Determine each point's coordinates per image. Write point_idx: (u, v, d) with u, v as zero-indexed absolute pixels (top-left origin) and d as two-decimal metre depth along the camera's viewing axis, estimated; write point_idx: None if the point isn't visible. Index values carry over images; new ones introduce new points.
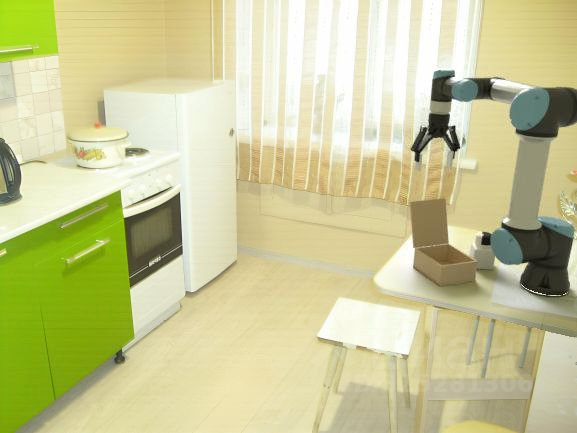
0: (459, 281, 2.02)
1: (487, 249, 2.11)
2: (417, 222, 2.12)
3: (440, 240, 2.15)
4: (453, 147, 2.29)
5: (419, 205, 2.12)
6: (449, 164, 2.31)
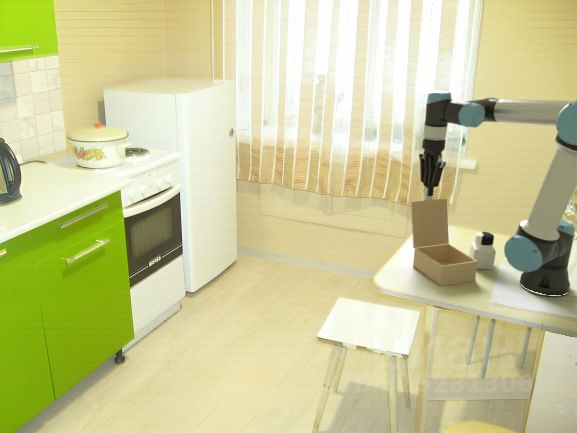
0: (459, 281, 2.02)
1: (487, 249, 2.11)
2: (418, 222, 2.11)
3: (440, 240, 2.15)
4: (428, 182, 2.10)
5: (420, 205, 2.11)
6: None
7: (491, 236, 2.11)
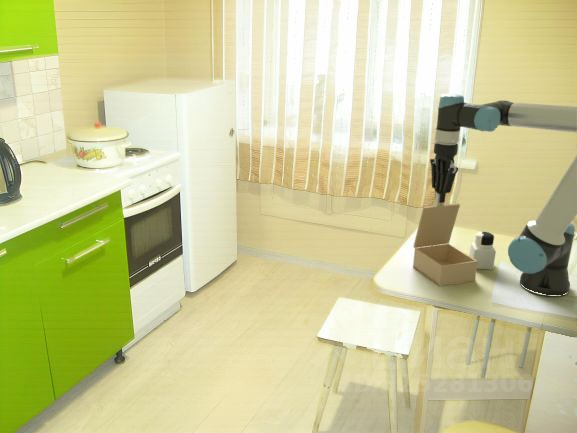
0: (459, 281, 2.02)
1: (487, 249, 2.11)
2: (424, 226, 2.07)
3: (441, 241, 2.14)
4: (440, 188, 2.04)
5: (432, 211, 2.05)
6: None
7: (491, 236, 2.11)
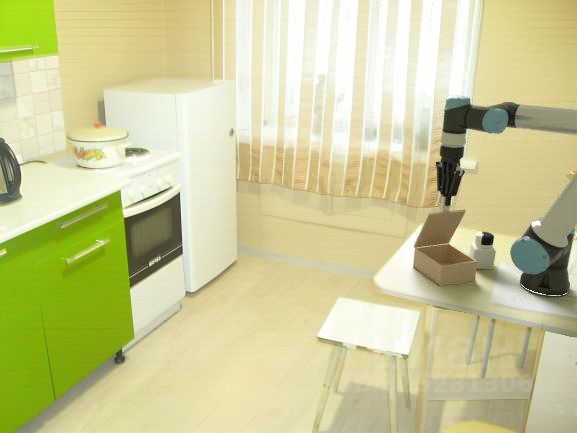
0: (459, 281, 2.02)
1: (487, 249, 2.11)
2: (427, 229, 2.06)
3: (441, 242, 2.14)
4: (446, 191, 2.01)
5: (437, 217, 2.03)
6: None
7: (491, 236, 2.11)
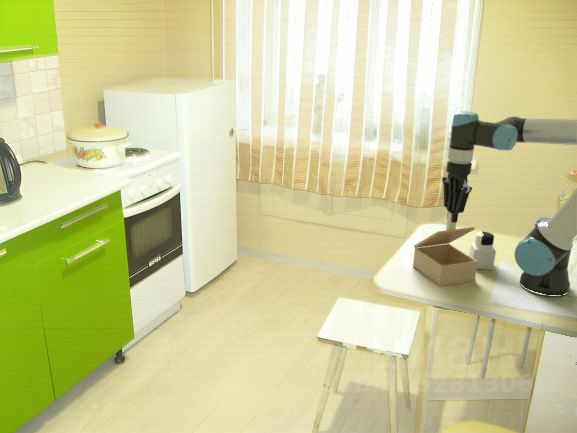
0: (459, 281, 2.02)
1: (487, 249, 2.11)
2: (432, 239, 2.04)
3: (442, 243, 2.14)
4: (452, 207, 1.98)
5: (444, 234, 1.99)
6: None
7: (491, 236, 2.11)
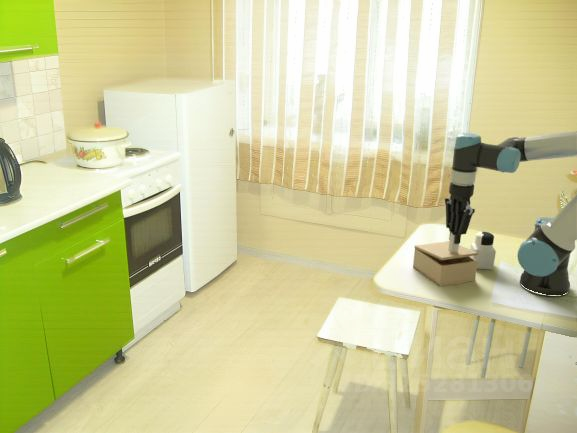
0: (459, 281, 2.02)
1: (487, 249, 2.11)
2: None
3: None
4: (455, 229, 1.98)
5: None
6: None
7: (491, 236, 2.11)
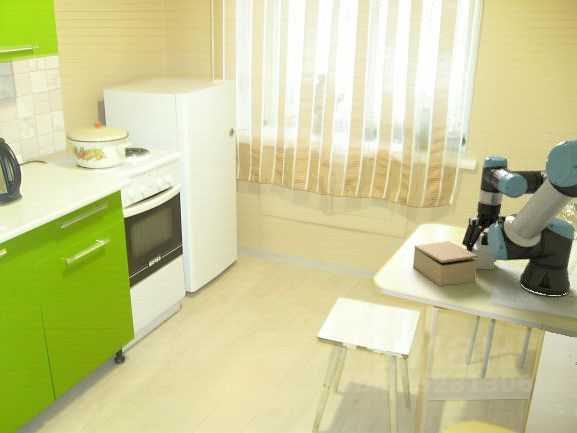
0: (459, 281, 2.02)
1: (487, 249, 2.11)
2: None
3: None
4: None
5: None
6: None
7: None
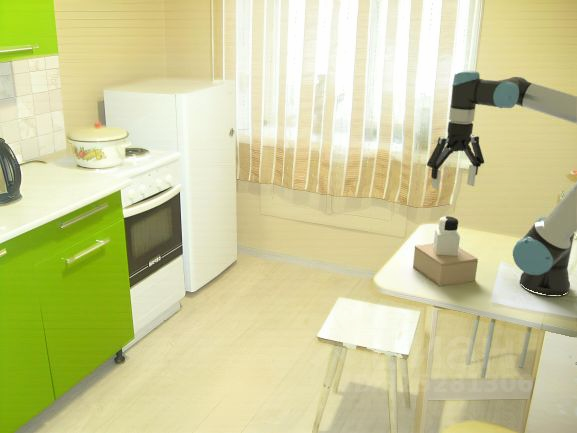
0: (459, 281, 2.02)
1: (451, 234, 2.01)
2: None
3: None
4: (476, 161, 1.98)
5: None
6: (471, 181, 2.00)
7: (455, 221, 2.01)
